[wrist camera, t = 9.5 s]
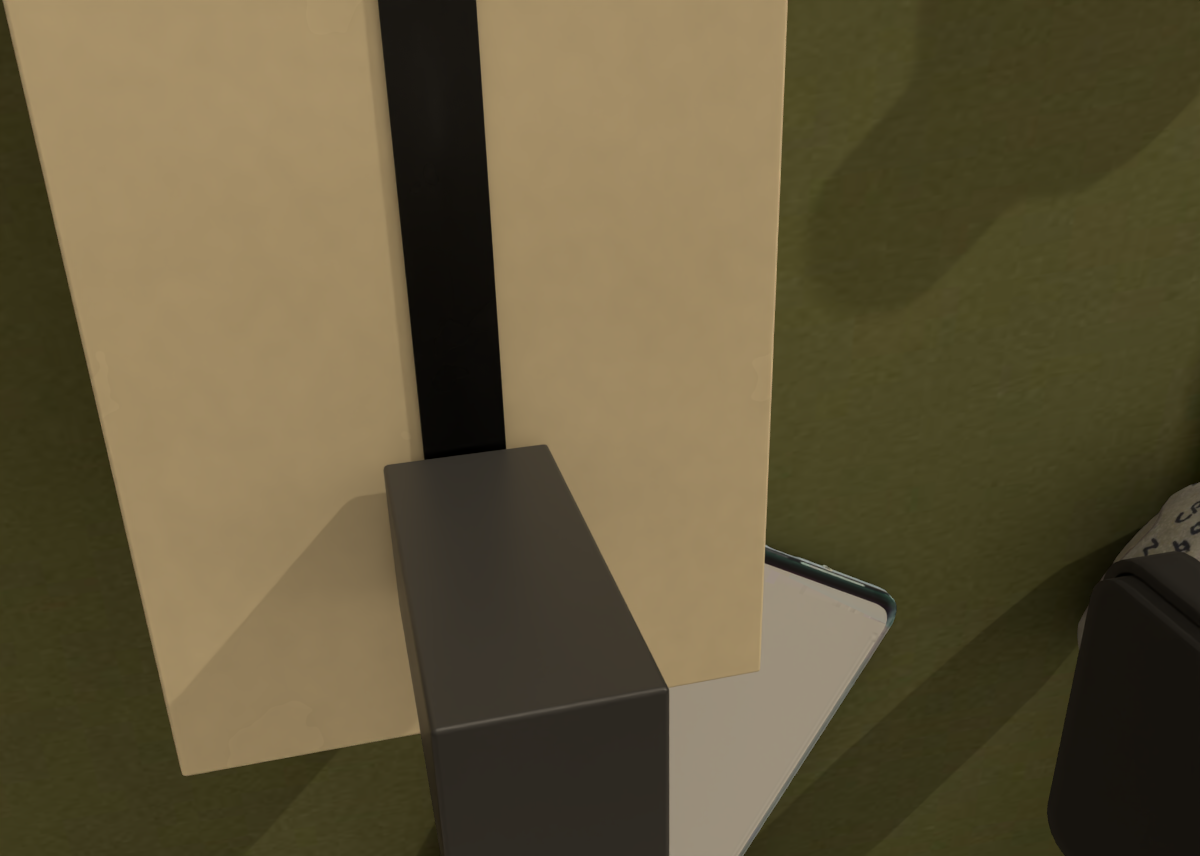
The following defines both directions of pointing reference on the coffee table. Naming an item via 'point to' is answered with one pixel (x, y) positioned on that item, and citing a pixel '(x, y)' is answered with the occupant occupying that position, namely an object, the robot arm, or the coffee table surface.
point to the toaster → (411, 314)
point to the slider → (525, 664)
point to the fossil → (1165, 533)
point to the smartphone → (768, 705)
